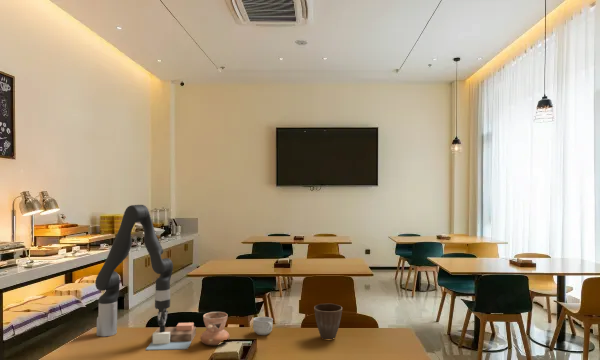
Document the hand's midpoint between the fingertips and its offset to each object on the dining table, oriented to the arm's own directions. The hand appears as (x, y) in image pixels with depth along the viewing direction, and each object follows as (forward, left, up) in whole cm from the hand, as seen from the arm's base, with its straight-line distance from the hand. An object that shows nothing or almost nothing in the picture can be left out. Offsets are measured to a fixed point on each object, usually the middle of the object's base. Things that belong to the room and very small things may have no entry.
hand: (162, 332), depth 207 cm
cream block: (0, -1, -2) cm, 2 cm away
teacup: (+52, +9, -5) cm, 53 cm away
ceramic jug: (+27, -2, -5) cm, 28 cm away
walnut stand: (+5, +6, -5) cm, 9 cm away
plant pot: (+86, +1, -5) cm, 86 cm away
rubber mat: (+5, -5, -5) cm, 9 cm away
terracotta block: (+10, +8, -1) cm, 13 cm away
